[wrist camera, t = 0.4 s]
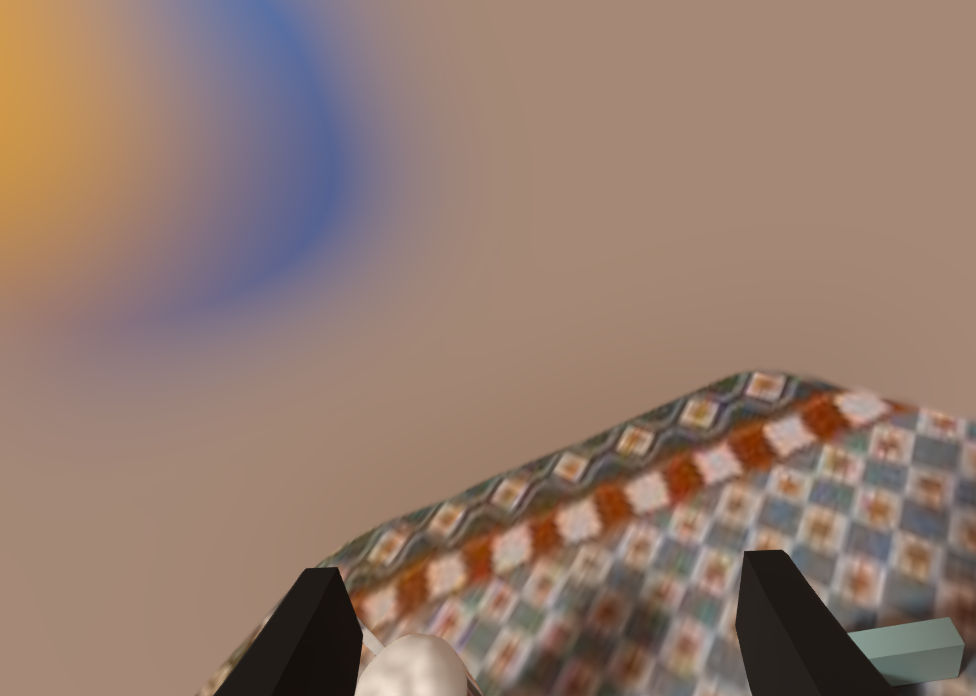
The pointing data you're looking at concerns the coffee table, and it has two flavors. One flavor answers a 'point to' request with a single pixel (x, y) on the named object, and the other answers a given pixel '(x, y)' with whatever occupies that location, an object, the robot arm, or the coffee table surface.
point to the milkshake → (414, 668)
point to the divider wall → (913, 651)
